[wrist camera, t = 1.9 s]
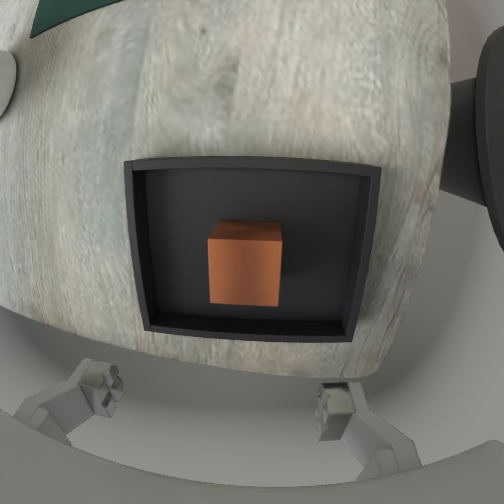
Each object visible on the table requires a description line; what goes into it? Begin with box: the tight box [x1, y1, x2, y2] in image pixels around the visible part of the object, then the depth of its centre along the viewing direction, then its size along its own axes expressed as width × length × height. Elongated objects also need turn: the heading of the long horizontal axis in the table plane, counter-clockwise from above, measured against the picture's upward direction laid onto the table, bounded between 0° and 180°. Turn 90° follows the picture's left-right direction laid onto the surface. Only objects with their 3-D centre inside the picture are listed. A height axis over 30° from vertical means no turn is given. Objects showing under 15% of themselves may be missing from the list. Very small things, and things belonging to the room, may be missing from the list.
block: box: [208, 220, 283, 306], centre depth 22 cm, size 5×5×5 cm
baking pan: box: [124, 156, 381, 343], centre depth 24 cm, size 20×16×3 cm
